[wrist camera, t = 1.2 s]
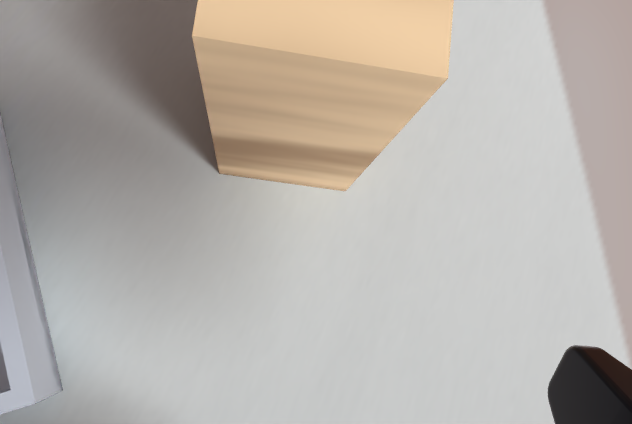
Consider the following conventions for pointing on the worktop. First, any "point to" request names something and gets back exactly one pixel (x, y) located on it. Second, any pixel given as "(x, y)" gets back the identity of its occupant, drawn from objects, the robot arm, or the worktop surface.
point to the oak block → (315, 81)
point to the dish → (21, 306)
